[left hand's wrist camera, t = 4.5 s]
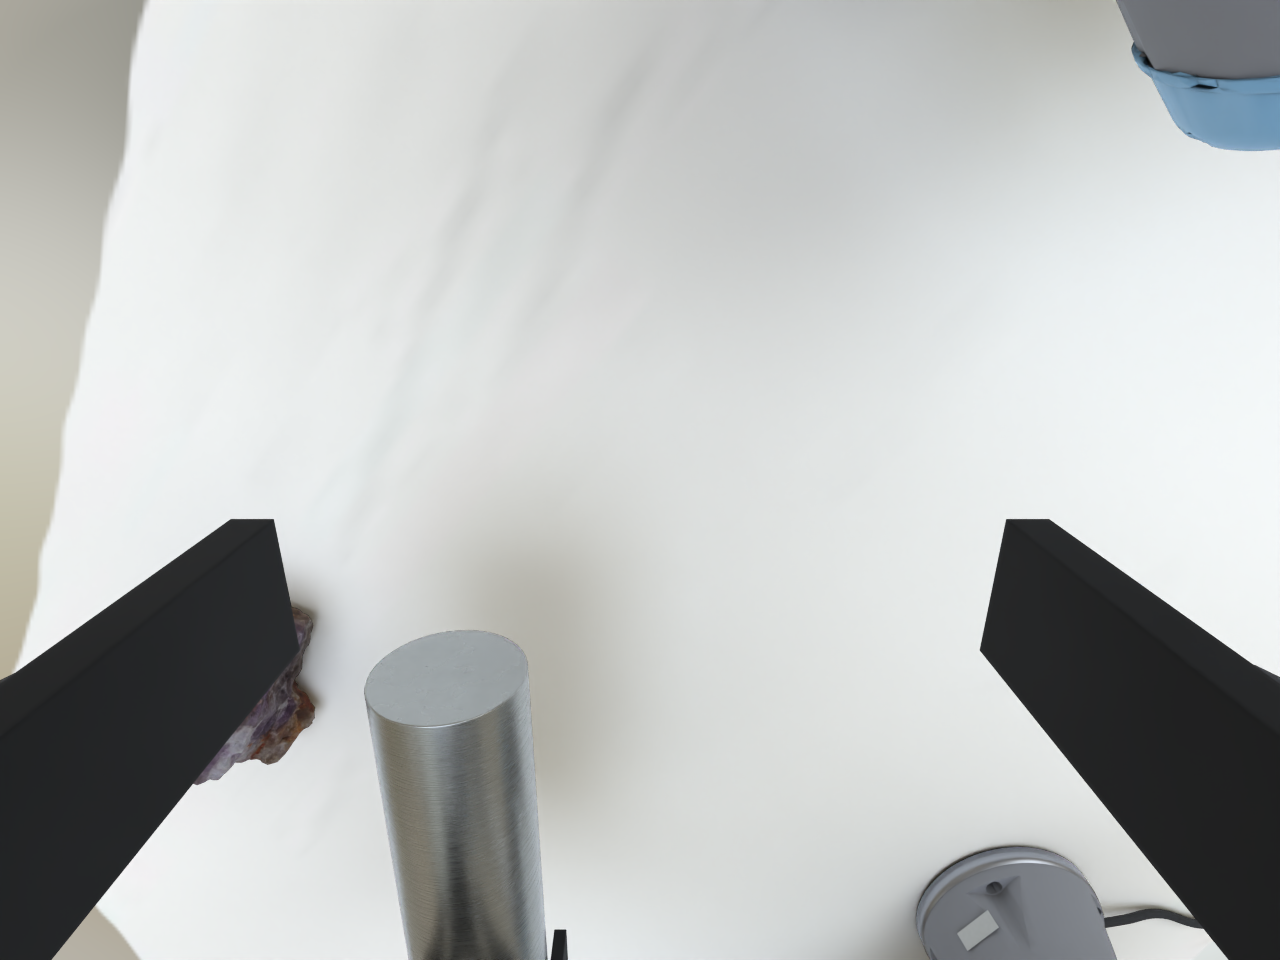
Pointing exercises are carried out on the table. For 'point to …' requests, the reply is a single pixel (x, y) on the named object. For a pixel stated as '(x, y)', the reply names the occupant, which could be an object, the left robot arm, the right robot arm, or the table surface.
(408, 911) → the rod
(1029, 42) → the table surface
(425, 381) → the table surface
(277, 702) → the rock
